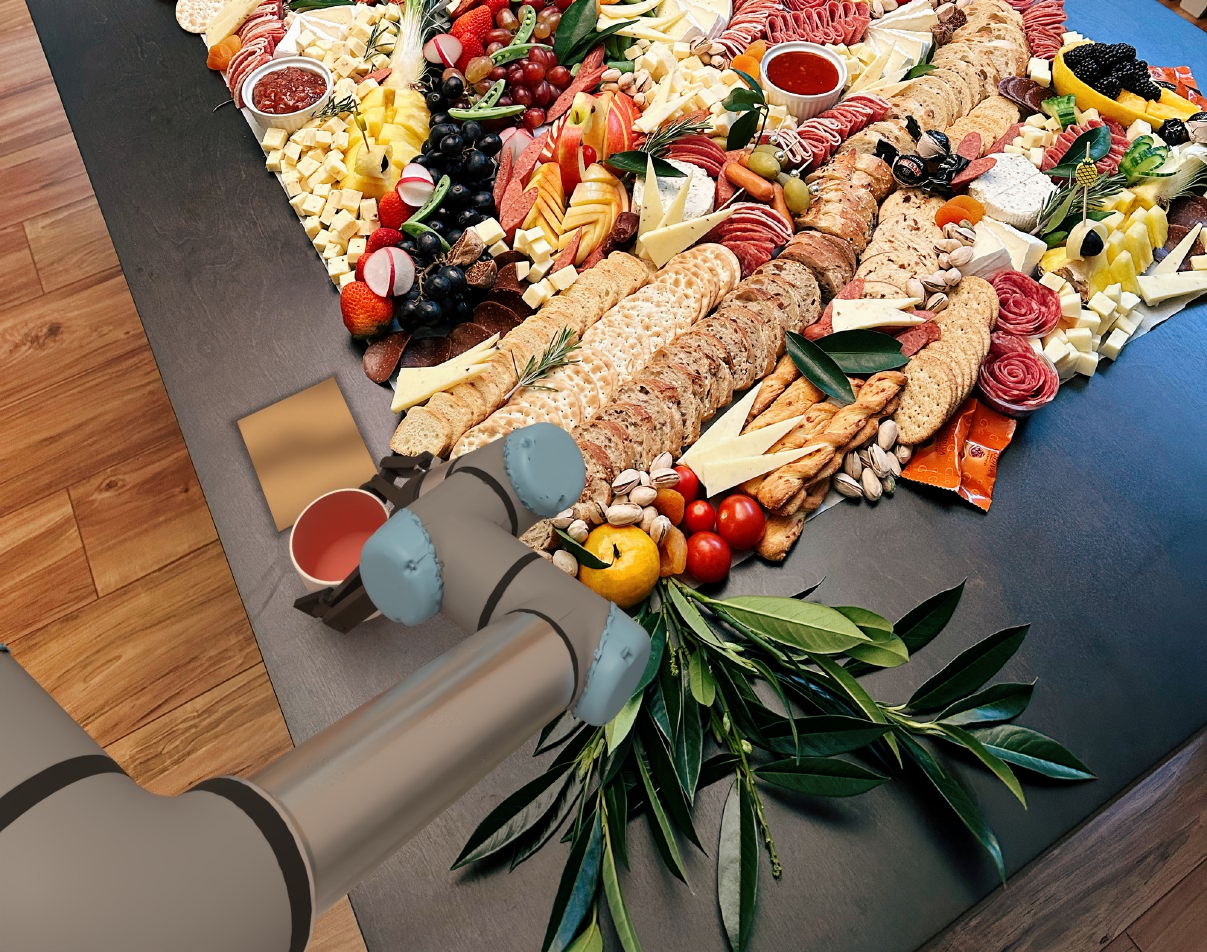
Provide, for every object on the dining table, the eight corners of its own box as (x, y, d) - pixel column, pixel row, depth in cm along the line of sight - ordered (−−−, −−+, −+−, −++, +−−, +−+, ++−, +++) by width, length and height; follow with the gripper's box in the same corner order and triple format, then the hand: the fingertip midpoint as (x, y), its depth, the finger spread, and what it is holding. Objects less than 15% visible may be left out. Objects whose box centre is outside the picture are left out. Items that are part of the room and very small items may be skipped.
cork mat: (381, 481, 129) (381, 480, 129) (278, 532, 125) (278, 531, 125) (334, 377, 139) (333, 376, 139) (237, 422, 135) (237, 421, 135)
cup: (414, 613, 116) (397, 569, 109) (315, 639, 115) (291, 596, 108) (403, 524, 123) (385, 477, 116) (309, 547, 122) (286, 501, 115)
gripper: (446, 649, 97) (314, 685, 111) (513, 418, 112) (390, 475, 126) (375, 612, 94) (248, 654, 108) (454, 380, 110) (334, 442, 123)
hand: (325, 557), depth 117 cm, fingers closed on cup, 10 cm apart
